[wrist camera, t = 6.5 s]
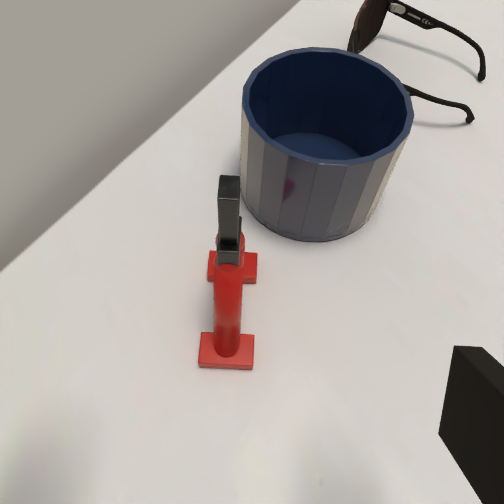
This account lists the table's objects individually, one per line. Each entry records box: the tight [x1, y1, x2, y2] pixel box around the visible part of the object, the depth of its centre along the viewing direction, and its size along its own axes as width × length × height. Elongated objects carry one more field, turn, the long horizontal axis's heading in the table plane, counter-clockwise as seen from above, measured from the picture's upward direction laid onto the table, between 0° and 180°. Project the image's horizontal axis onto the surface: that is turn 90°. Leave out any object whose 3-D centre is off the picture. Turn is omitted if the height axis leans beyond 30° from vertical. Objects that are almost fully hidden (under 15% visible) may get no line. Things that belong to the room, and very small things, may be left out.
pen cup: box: [240, 47, 414, 242], centre depth 29 cm, size 10×10×8 cm
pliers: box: [198, 175, 257, 370], centre depth 22 cm, size 3×7×12 cm, turn 178°
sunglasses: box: [347, 0, 486, 123], centre depth 37 cm, size 10×12×5 cm
